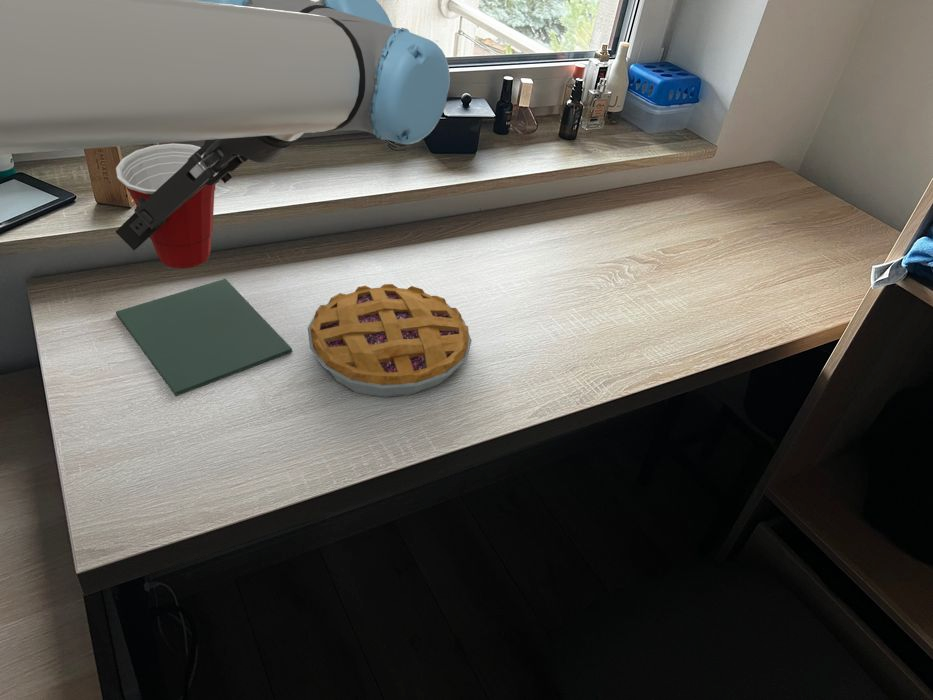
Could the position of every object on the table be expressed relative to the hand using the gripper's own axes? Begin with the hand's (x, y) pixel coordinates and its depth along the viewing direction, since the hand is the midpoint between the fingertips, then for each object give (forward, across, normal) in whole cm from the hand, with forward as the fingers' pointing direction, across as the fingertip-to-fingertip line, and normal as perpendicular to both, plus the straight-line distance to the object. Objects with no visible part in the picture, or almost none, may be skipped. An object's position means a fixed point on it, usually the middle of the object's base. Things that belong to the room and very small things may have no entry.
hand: (154, 219), depth 84 cm
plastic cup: (+1, 0, -5) cm, 5 cm away
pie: (-5, +10, -32) cm, 34 cm away
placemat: (+12, +4, -14) cm, 19 cm away
